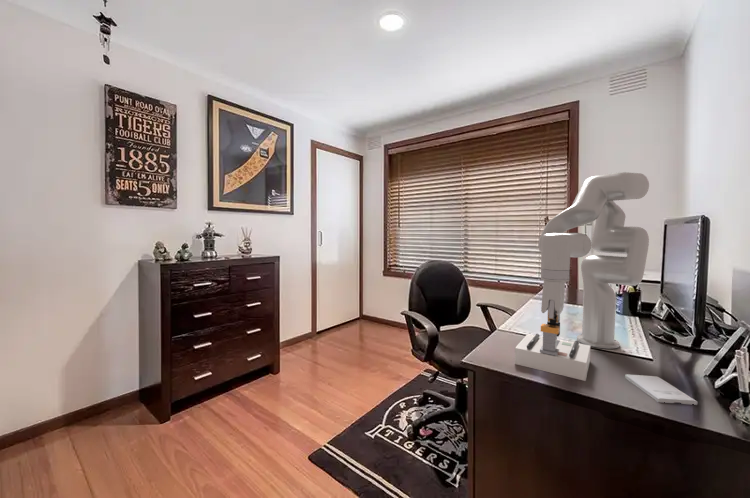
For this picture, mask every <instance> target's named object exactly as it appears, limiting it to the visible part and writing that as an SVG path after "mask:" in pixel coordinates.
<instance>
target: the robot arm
mask: <svg viewBox="0 0 750 498" xmlns="http://www.w3.org/2000/svg"><path fill="white" fill-rule="evenodd" d="M649 187H650V183H649V178H648V177H647V176H646V175H645V174H643V173H637V172H626V171H624V172H616V173H607V174H606V173H605V174H599V175H594V176H590V177H588V178H586V179H585V180H584V181H583V183H582V185H581V186H580V189H579V190H578V192H577V194H576V195H575V199H574V200H573V201H572V204H571V206H570V207H568V208H566V209H565V210H563V211H561V212H560V213H558V214H556V215H555V216H554V217H553V218H551V219H550V220H549V221H548V222H547V223H546V224H545V226H544V228H543V230H542V232H541V234H540V237H539V239H538V245H537V246H538V249H539V252H540V257H541V258H540V280H541V281H543V285H542V291H541V292H542V293H541V308H540V309H541V310H540V311H541V313H542V314H545V313H546V312H547V324H548V325H554V326H560V327H561V322H560V320H561V313H562V312H563V311H564V307H565V297H566V296H565V291H566V290H565V289H566V288H565V287H566V284H565V283H566V282H570V279H571V278H570V273H571V258H583V257H585V256H587V255H588V254H589V253H590V251H591V249H592V250H593V251H595V252H598V253H601V254H600V255H599V254H596V255H588V256H587V257H585V258H583V260H582V261H581V264H580V270H581V271H580V273H581V277H582V284H583V286H582V288H583V297H582V319H581V321H582V323H581V327H582V328H581V334H578V335H576V341H578V342H579V344H584V345H590V347H593V348H597V349H605V350H606V349H607V350H612V349H613V350H615V349H618V348H620V346H621V345H620V344H621V343H620V341H618V340H616V338H615V329H616V305H617V295H616V293H615V291H614V289H613V288H612V286H611V285H610V284H614V285H623V286H637V285H639V284H640V283H641V282H642V280H643V278H644V276H645V275H644V273H645V268H646V263H647V257H648V253H649V245H650V238H649V233H648V231H647V230H646V229H645V228H644V227H640V226H625V222H626V213H625V211H624V210H623V208H621V207H620V206H619V205H618V204H617V202H615V201H627V200H629V201H630V200H639V199H642V198H644V197H645V196H646V195H647V193H648V191H649ZM593 222H595V223H594V226H593V227H594V229H593V232H592V238H590V237H589V236H588V235H586V234H584V233H582V232H581V233H580V232H567V231H568V230H571V229H574V228H578V227H581V226H584V225H588V224H590V223H593ZM603 253H604V254H613V255H602V254H603ZM614 254H617V256H615V255H614ZM618 255H626V256H618ZM560 334H561V331H560V332H559V334H557V338H558V337H559V336H560Z"/></svg>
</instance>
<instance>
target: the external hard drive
mask: <svg viewBox="0 0 750 498" xmlns="http://www.w3.org/2000/svg"><path fill="white" fill-rule="evenodd" d="M624 375H625V376H624V378H625V379H626V380H628V382H629V383H632V384H633V385H634V386H636V387H637V388H638V389H640V390H641V391H642V392H643V393H645V394H646V395H648V396H649V397H650V398H652V399H653V400H655V401H656V402H657V403H664V402H665V403H668V404H680V403H681V404H683V405H692V404H694V405H695V406H698V401H697V400H695V398H693V397H692V396H689V395H688V394H687V393H684V392H683V391H682V390H679V388H677V387H676V386H674V385H672V384H671V383H669V382H667V381H666V380H664V379H663V378H661V377H659V376H656V375H643V374H641V375H639V374H624ZM694 405H693V406H694Z"/></svg>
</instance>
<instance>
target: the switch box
mask: <svg viewBox="0 0 750 498" xmlns="http://www.w3.org/2000/svg"><path fill="white" fill-rule="evenodd" d="M542 346H543V336H540V334H539V333H536V334H535V335H533V334H528V333H527V334H526V335H525V336H524V337H523V338H522V340H521V341H520V342H519V343H518V344H517V345H516V346H515V347H514V349H515V350H514V365H518V366H522V367H525V368H526V367H527V368H530V369H535V370H538V371H543V372H547V373H551V374H555V375H558V376H559V375H560V376H563V377H568V378H571V379H576V380H580V381H584V382H586V381H587V375H588V372H589V367H590V361H591V346H590V345H585V344H583V343H580V342H579V341H578V340H575V341H574V342H573V341H567V340H562V339H557V349H559V353H558V355H557V356H555V355H550V354H545V353H540V349H541V347H542Z"/></svg>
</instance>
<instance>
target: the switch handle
mask: <svg viewBox="0 0 750 498" xmlns="http://www.w3.org/2000/svg"><path fill="white" fill-rule="evenodd" d="M540 332H542V337H543V346H542V347H541V349H540V353H545V354H550V355H555V356H557V355H558V353H559V349H557V340H558V337H557V334H559V332H560V333H561V325H560V326H554V325H548V324H546V323H542V324H541V325H540Z"/></svg>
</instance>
